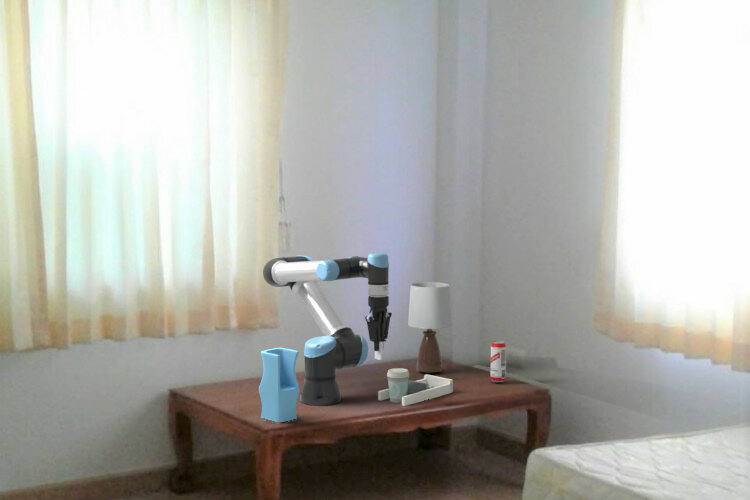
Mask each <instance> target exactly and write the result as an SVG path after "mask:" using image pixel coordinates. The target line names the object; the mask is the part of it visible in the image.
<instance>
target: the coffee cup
mask: <svg viewBox="0 0 750 500" xmlns="http://www.w3.org/2000/svg"><path fill="white" fill-rule="evenodd" d="M386 377H387V383H388V388H389V394H390V398H389V401H390V403H393V404H394V403H395V404H402V397H403V396H407V395H408V393H407V388H408V381H409V380H410V379H409V378H410V373H409V370H408V369H407V368H401V367H400V368H399V367H395V368H394V367H393V368H390V369H388V370H387V373H386Z"/></svg>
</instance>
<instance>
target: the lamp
mask: <svg viewBox="0 0 750 500" xmlns="http://www.w3.org/2000/svg"><path fill="white" fill-rule="evenodd" d="M409 288H410V291H409V292H410V293H409V303H408V304H409V305H408V319H407V320H408V321H407V325H408V327H410V328H413V329H414V328H415V329H424V330H423V331H422V334H423V337H422V339H421V342H420V344H419V348H418V355H417V360H416V371H417V372H421V373H430V374H431V373H438V372H441V371H443V360H442V354H441V348H440V344H439V341H438V339H437V335H436V334H437V331H435V329H436V330H437V329H438V330H440V329H447V328H450V327H452V312H451V311H452V310H451V296H450V295H451V292H450V284H449V283H444V282H437V281H434V282H433V281H427V282H426V281H424V282H421V281H420V282H413V283H410V287H409Z"/></svg>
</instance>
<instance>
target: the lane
mask: <svg viewBox="0 0 750 500" xmlns="http://www.w3.org/2000/svg"><path fill="white" fill-rule="evenodd" d="M415 381H416V382H421V383H426V384H428V387H431V386H434V388H430V389H427V390H424V391H420V392H417V393H413V394H409V393H408V388H407V396H403V397H402V403H401V406H403V407H405V406H410V405H413V404H417V403H420V402H424V400H425V401H428V399H429V400H433V399H435V398H438V397H441V396H446V395H448V394H449V395H450V394H451V393H453V392H454V380H453V379H452V378H446V377H442V376H437V375H431V374H427V373H426V374H424V376H423V378H420V379H416V380H415ZM387 399H388V400H390V394H389V387H388V388H386V389H382V390H378V391H377V400H378V401H384V400H387Z"/></svg>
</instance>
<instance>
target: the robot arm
mask: <svg viewBox="0 0 750 500" xmlns="http://www.w3.org/2000/svg"><path fill="white" fill-rule="evenodd" d="M389 266H390V263H389V255H388V254H387V253H386V252H385V253H383V252H373V253H372V252H371V253H368V256H367V257H363V256H357V255H355V256H354V255H353V256H348V257H347V258H338V259H337V258H334V259H325V260H324V259H323V260H314V259H313V258H312V257H310V256H308V255H295V256H286V257H284V256H283V257H275V258H272V259H270V260H269V261H267V262H266V264H265V265H264V267H263V269H262V276H263V278H264V281H265V282H266V283H267V284H268V285H270V286H271V287H275V288H277V287H278V288H281V287H282V288H284V287H289V288H290V290H291V292H292V293H293V294H294V295H299V297H300V299H301V300H302V301H303V302H302V303H304V305H305V307H306V309H307V310H308V312H309V313H310V315H311V316H312V318H313V319H314V321H315V322H316V324H317V326H318V327H319V329H320V331H321V332H322V333H323V335H322V336H314V337H312V338H310V339H308V340H307V341H306V342H305V344H304V351H303V355H304V383H303V385H302V389H301V392H300V393H299V394H300V395H299V400H300V403H302V404H304V405H307V404H308V406H317V405H319V406H330V405H334V404H335V405H336V404H338V403H340V402H341V400H342V398H341V392H340V389H339V385H338V381H337V371H339V370H343V369H348V368H349V369H350V368H355V367H358V366H360V365H361V366H362V364H364V363H365V362H366V360H367V359H368V355H369V345H368V341H367V340H366V338H365V337H364V336H363V335H362V334H355V332H354V331H353V329H352V328H351V327H350V326H345V324H344V323H343V321H342V320H341V318H340V316H339V315H338V313H337V311H336V310H335V309H334V307H333V306H332V304H331V303H330V301H329V299H328V298H327V297H326V295H325V293H324V292H323V290H322V288H321V286H320V285H319V284H318V282H321V281H322V282H332V281H338V280H348V279H356V278H362V279H364V278H365V279H367V294H368V298H367V305H368V306H369V307H370V309H369V314H368V315H365V316H364V320H365V322H366V325H367V332H368V336H369V341H371V342H372V343H373V349H374V360H378V361H382V360H384V342H387V339H388V336H389V329H390V322H391V317H392V312H389V311H388V306H389V303H390V301H389V300H390V297H389V292H390V291H389V283H390V282H389V277H390V276H389V275H390V274H389Z"/></svg>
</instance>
